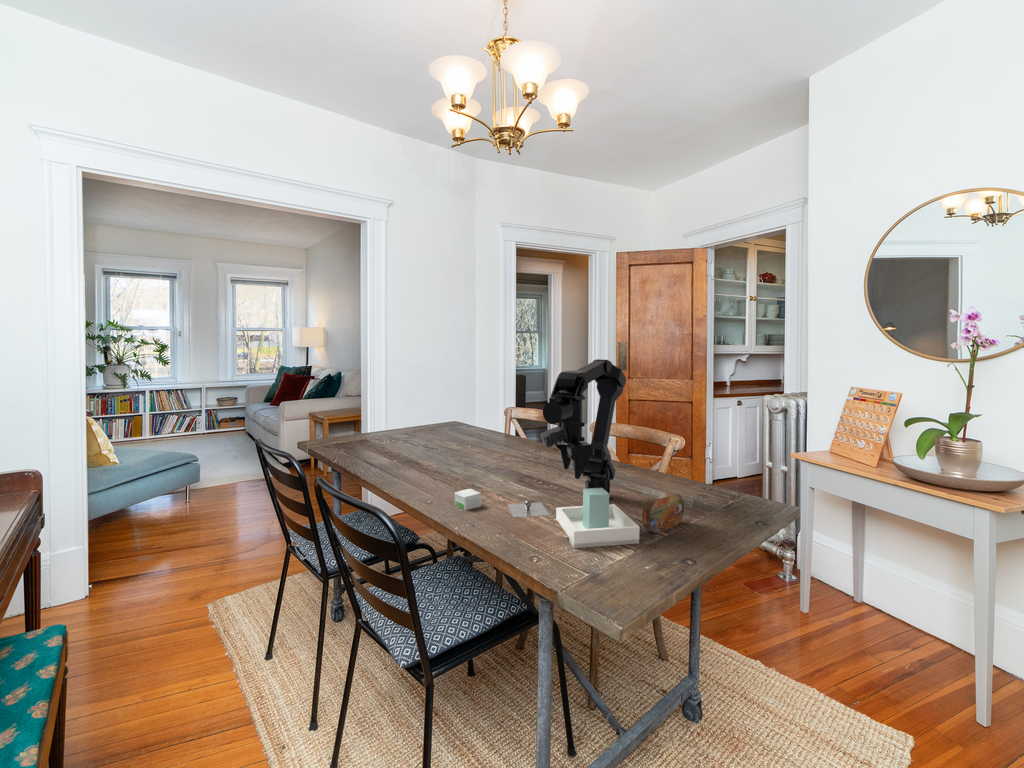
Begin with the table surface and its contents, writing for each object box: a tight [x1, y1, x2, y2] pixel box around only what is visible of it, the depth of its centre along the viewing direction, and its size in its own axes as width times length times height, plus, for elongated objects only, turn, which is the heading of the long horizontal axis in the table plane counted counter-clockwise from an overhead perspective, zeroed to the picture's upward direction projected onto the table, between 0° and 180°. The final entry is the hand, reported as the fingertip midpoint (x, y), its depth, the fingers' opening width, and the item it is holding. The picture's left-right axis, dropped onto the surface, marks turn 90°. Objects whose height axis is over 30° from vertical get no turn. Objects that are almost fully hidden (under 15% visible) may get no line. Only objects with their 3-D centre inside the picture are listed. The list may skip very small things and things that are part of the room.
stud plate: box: [507, 500, 550, 518], centre depth 136 cm, size 10×10×4 cm
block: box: [582, 488, 610, 529], centre depth 122 cm, size 5×5×10 cm
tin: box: [642, 492, 685, 534], centre depth 125 cm, size 15×3×8 cm, turn 129°
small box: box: [454, 488, 482, 511], centre depth 139 cm, size 6×6×5 cm
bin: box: [555, 503, 640, 549], centre depth 122 cm, size 16×16×4 cm
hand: (571, 473), depth 135 cm, fingers open, 9 cm apart
